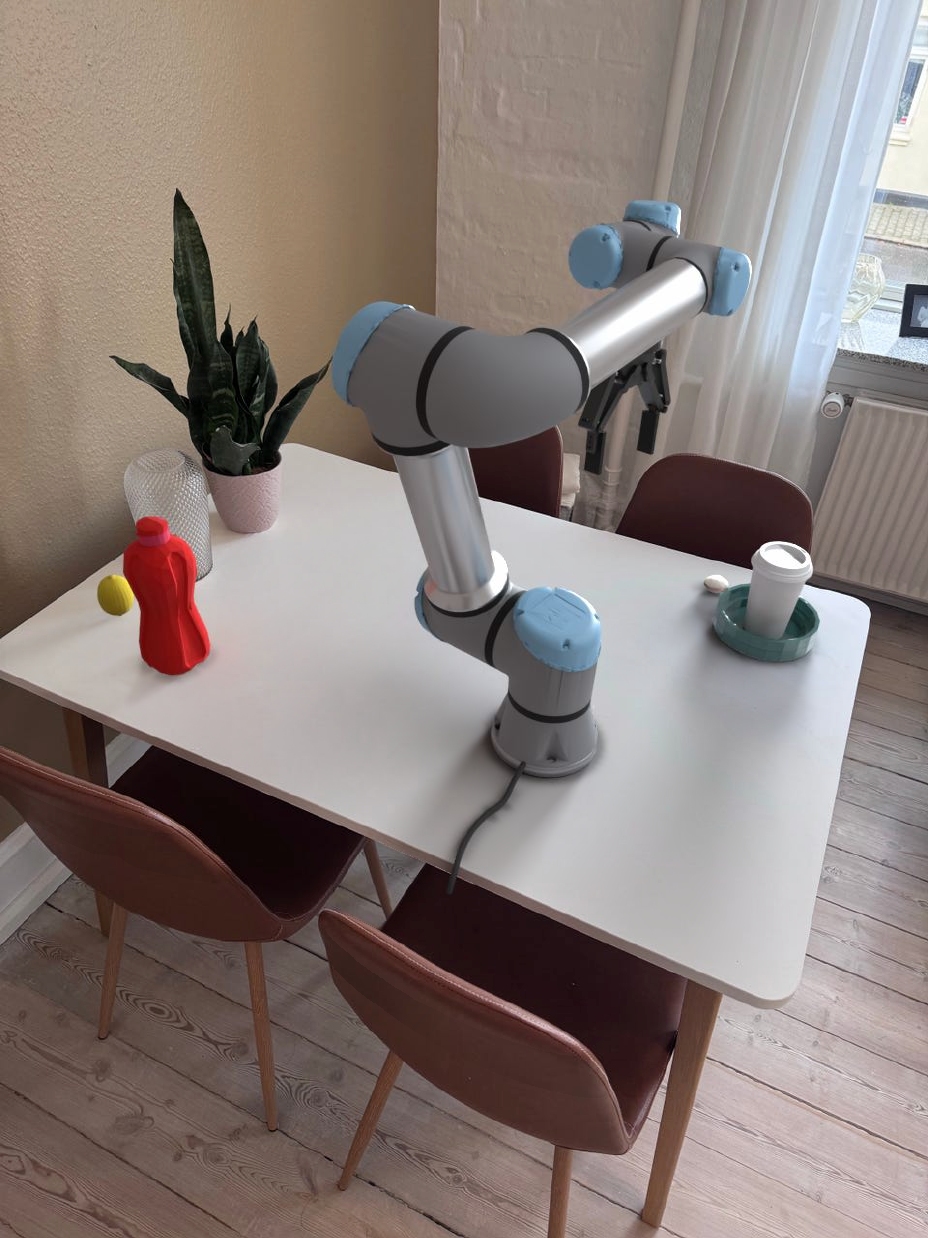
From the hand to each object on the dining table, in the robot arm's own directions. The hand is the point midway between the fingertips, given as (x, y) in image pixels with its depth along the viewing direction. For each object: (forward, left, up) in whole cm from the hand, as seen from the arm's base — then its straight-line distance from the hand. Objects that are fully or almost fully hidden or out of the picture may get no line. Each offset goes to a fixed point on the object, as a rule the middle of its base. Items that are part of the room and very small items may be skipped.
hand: (619, 462), depth 142 cm
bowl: (+15, -24, -29) cm, 40 cm away
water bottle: (-56, +40, -29) cm, 75 cm away
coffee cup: (+15, -24, -28) cm, 40 cm away
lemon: (-57, +56, -29) cm, 85 cm away
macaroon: (+21, -11, -29) cm, 37 cm away
